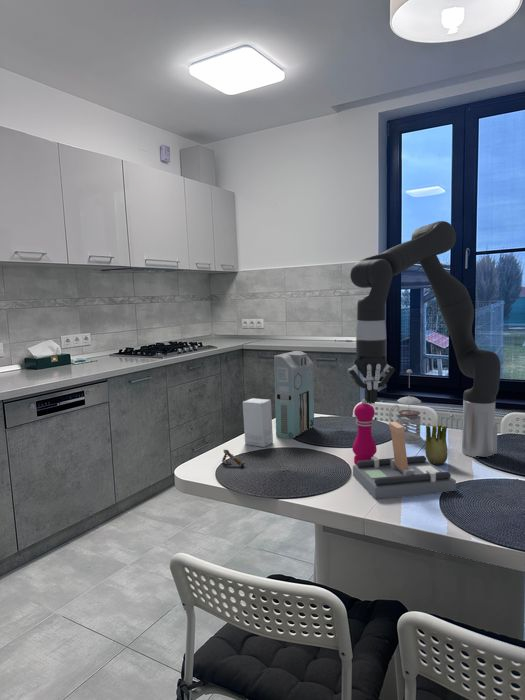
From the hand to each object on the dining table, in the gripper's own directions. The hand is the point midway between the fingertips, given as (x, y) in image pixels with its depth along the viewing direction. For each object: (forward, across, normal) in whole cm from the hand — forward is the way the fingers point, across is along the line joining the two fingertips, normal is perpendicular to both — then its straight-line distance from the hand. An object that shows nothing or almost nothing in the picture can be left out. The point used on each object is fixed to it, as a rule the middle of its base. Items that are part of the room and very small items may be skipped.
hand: (370, 403), depth 123 cm
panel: (+23, -9, 0) cm, 25 cm away
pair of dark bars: (+20, -9, 0) cm, 22 cm away
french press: (+23, -28, -36) cm, 51 cm away
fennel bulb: (+23, -26, -12) cm, 37 cm away
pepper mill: (+23, -5, -17) cm, 29 cm away
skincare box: (+23, +24, -43) cm, 54 cm away
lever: (+19, -9, 0) cm, 21 cm away
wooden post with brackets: (+23, +35, -24) cm, 48 cm away
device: (+23, +8, -54) cm, 59 cm away
